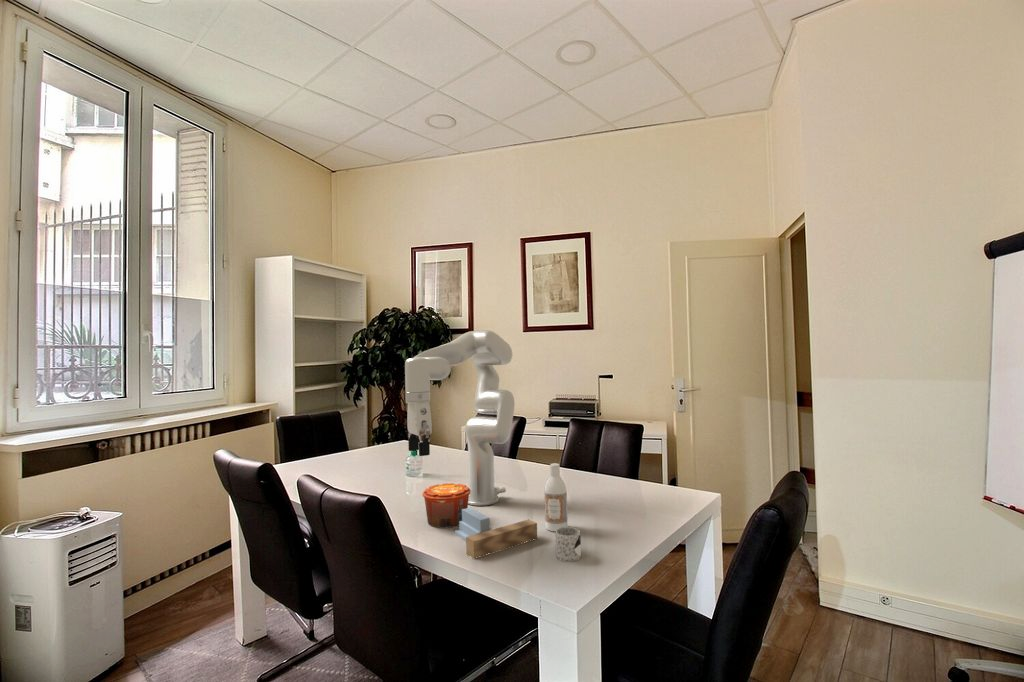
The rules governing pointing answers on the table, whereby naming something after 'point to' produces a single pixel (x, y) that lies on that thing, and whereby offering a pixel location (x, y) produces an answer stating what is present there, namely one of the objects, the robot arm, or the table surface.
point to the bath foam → (555, 500)
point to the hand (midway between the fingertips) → (418, 452)
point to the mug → (568, 544)
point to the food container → (446, 504)
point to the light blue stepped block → (472, 523)
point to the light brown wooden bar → (500, 538)
